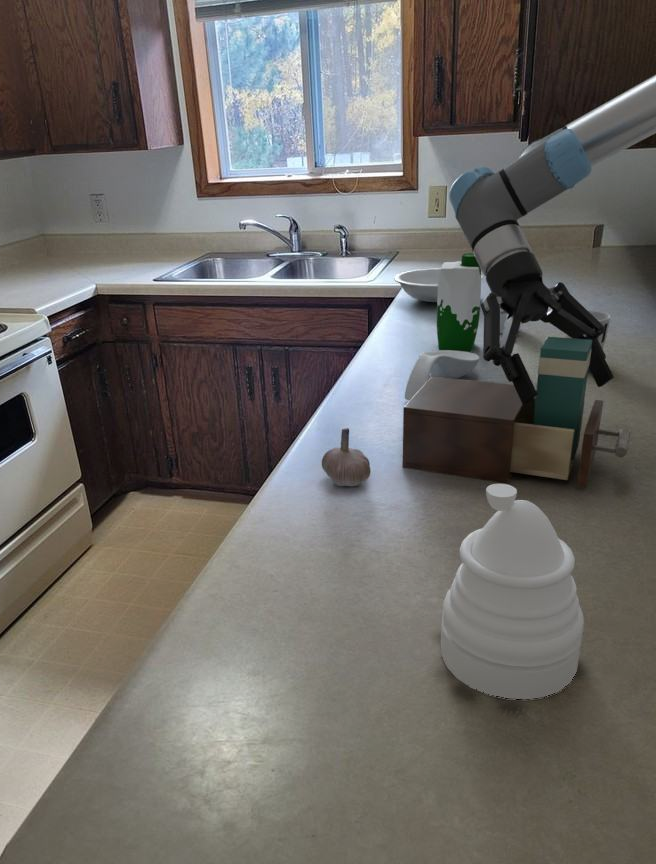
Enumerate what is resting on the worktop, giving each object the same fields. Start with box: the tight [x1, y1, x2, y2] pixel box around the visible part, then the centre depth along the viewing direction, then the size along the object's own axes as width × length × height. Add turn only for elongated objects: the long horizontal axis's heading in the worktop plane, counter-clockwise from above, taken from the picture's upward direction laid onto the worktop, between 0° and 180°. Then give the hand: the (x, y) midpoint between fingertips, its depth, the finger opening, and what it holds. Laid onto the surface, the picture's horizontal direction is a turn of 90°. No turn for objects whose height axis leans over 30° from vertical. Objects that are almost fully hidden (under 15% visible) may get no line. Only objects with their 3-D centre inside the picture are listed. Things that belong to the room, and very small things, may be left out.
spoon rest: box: [404, 349, 480, 401], centre depth 142 cm, size 24×12×7 cm, turn 152°
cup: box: [565, 310, 611, 350], centre depth 147 cm, size 8×8×10 cm
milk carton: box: [436, 252, 482, 353], centre depth 160 cm, size 9×9×20 cm
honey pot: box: [440, 483, 585, 701], centre depth 68 cm, size 13×13×18 cm
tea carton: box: [533, 336, 592, 461], centre depth 105 cm, size 6×6×16 cm
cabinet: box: [401, 376, 525, 484], centre depth 111 cm, size 16×15×10 cm
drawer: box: [510, 396, 631, 488], centre depth 106 cm, size 19×13×8 cm
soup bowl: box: [393, 267, 484, 303], centre depth 204 cm, size 24×24×7 cm
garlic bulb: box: [321, 427, 371, 487], centre depth 106 cm, size 8×7×8 cm
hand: (569, 391), depth 103 cm, fingers open, 13 cm apart
